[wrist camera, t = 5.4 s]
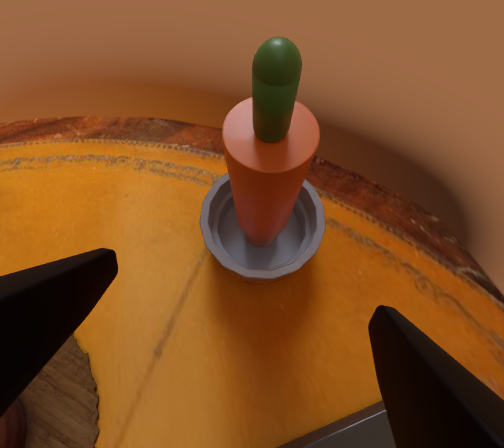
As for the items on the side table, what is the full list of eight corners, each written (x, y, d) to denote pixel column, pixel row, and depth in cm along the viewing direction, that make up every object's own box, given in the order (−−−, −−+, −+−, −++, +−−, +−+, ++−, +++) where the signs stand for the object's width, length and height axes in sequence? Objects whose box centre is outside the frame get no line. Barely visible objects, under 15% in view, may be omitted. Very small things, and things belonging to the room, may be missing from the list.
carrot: (247, 257, 20) (230, 115, 5) (234, 219, 21) (189, 14, 6) (288, 244, 20) (383, 73, 5) (272, 207, 21) (316, -14, 7)
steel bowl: (227, 299, 19) (220, 297, 15) (200, 205, 22) (187, 181, 18) (327, 263, 20) (346, 252, 16) (287, 178, 23) (295, 149, 19)
